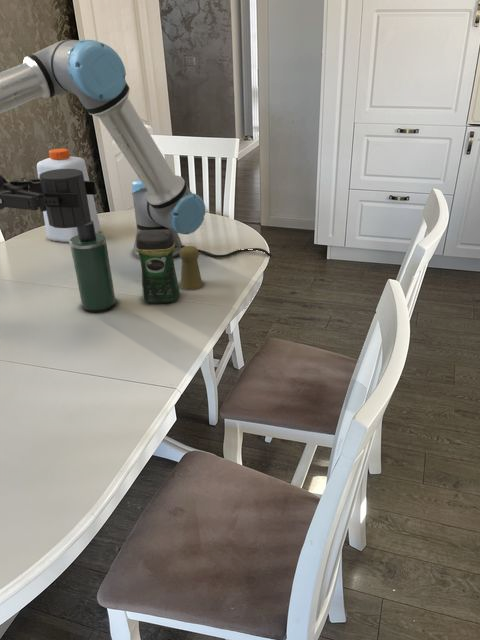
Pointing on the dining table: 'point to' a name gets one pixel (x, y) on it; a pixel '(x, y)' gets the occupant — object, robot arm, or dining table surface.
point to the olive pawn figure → (190, 268)
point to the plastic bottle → (65, 161)
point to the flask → (93, 269)
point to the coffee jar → (157, 265)
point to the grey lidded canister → (66, 184)
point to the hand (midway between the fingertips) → (86, 193)
